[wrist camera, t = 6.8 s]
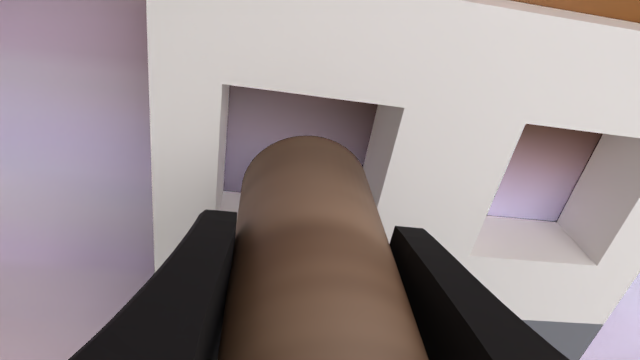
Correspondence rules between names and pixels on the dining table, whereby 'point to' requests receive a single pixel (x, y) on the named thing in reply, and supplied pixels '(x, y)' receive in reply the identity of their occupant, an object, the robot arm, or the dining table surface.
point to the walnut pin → (313, 263)
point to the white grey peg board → (424, 129)
